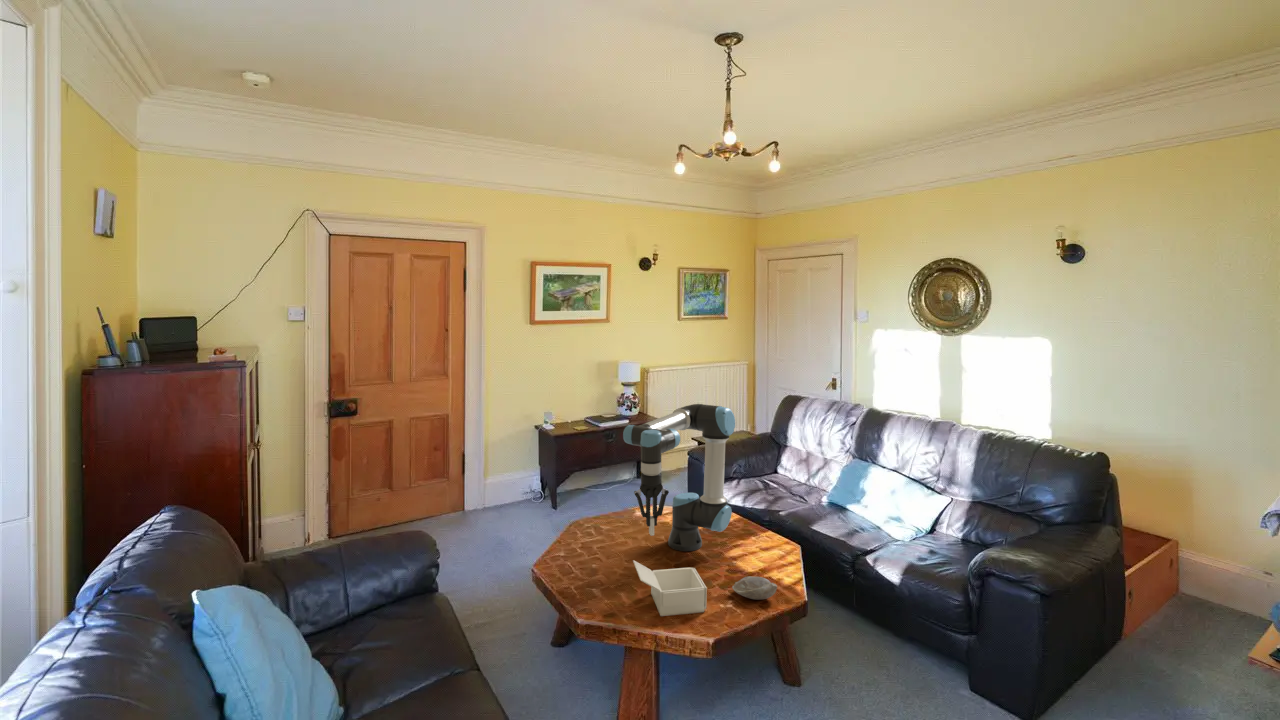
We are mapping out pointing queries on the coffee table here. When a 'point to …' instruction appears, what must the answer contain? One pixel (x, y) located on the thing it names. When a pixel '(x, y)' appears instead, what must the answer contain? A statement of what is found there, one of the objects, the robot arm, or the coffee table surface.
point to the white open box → (679, 591)
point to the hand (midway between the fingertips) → (651, 533)
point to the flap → (645, 575)
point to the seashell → (755, 587)
